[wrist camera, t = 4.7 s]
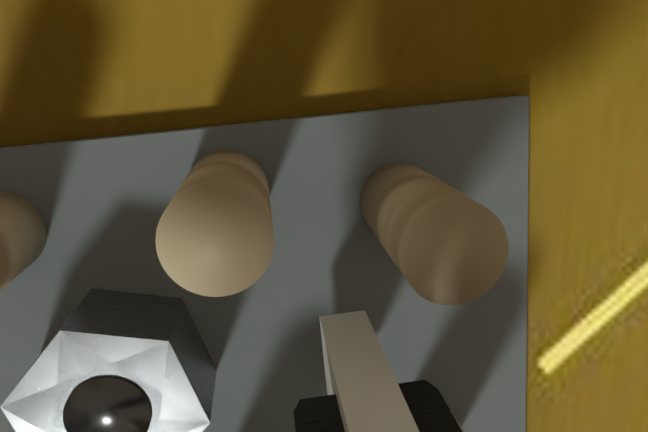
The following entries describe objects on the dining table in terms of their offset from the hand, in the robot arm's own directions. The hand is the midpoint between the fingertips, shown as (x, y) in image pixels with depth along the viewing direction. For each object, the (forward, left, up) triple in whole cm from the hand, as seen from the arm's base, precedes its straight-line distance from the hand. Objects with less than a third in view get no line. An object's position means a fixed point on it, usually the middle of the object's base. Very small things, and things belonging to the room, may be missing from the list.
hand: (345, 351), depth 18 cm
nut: (-7, 0, -1) cm, 7 cm away
